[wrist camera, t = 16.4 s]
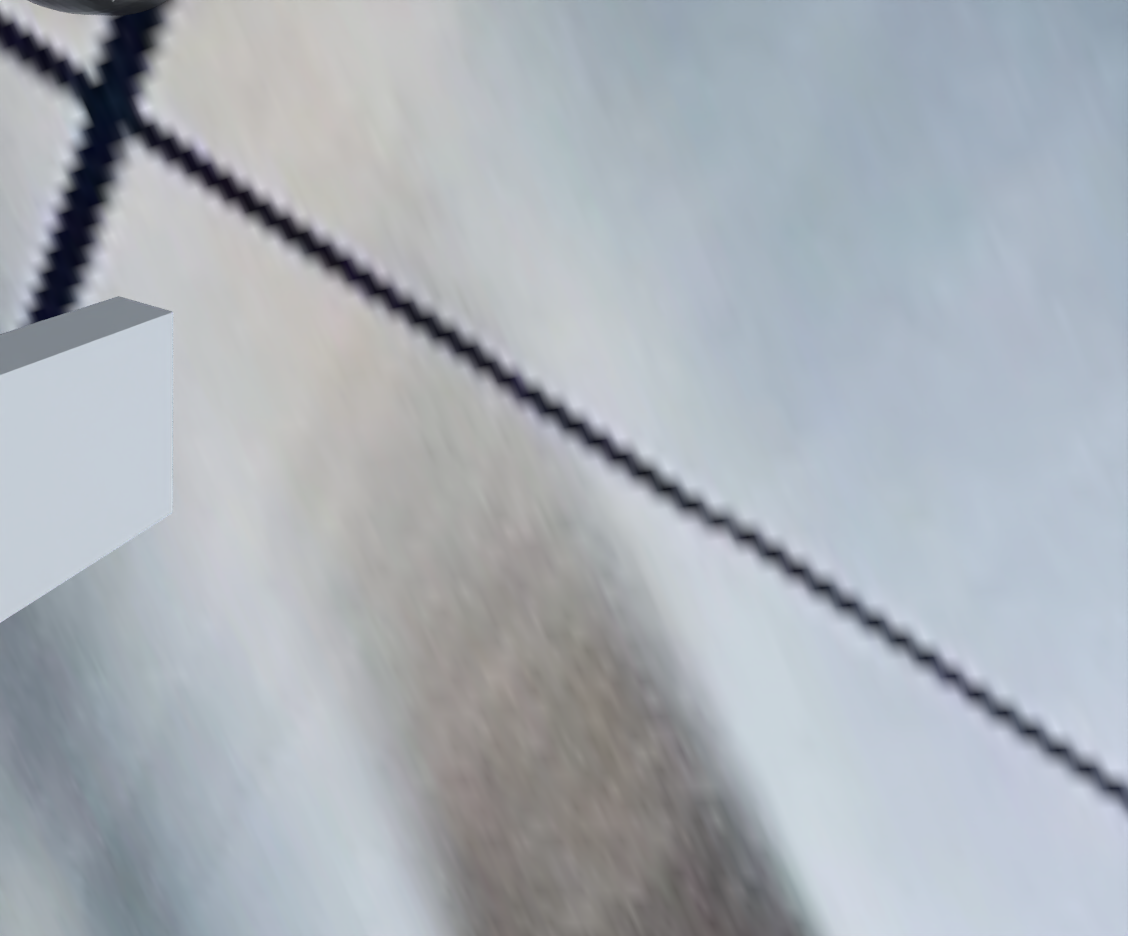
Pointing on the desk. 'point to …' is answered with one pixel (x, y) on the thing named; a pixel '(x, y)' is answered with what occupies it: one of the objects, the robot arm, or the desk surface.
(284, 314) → the desk surface
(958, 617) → the desk surface
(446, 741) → the desk surface
